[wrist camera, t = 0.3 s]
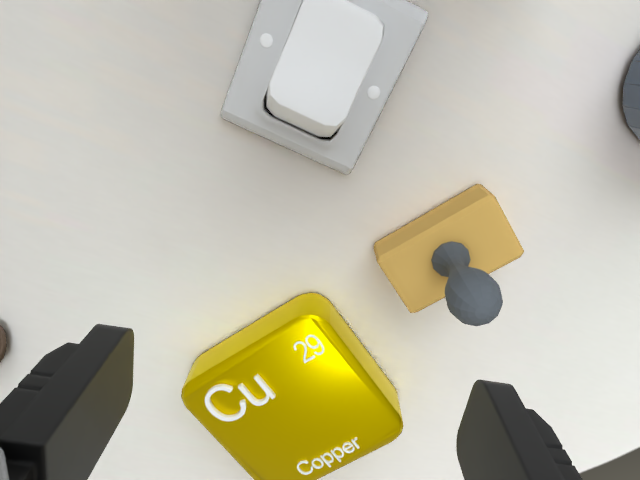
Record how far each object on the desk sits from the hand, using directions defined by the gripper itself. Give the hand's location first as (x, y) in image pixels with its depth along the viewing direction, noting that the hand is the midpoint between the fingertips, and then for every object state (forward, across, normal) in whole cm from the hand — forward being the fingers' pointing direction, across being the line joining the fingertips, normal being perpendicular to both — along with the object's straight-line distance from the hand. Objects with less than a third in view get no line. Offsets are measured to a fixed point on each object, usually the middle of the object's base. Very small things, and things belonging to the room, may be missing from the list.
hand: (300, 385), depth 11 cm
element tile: (+29, -1, +22) cm, 36 cm away
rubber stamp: (+29, -11, +6) cm, 31 cm away
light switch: (+29, +1, -6) cm, 30 cm away
